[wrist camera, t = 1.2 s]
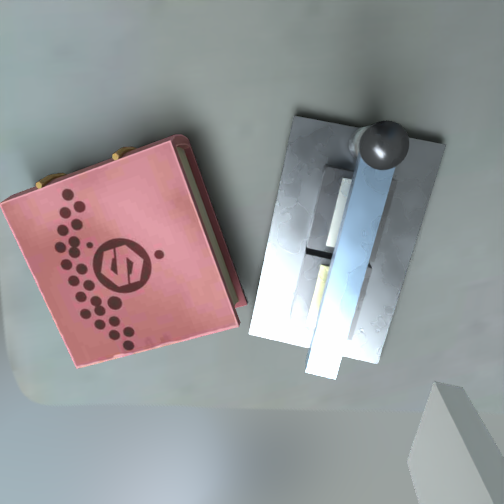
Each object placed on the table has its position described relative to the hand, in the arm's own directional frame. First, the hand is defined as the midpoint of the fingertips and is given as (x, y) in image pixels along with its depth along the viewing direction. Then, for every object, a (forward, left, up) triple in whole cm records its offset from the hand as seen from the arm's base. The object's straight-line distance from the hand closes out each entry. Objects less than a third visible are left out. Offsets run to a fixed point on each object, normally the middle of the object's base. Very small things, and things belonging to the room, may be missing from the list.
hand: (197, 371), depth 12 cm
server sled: (+1, +6, -22) cm, 23 cm away
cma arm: (0, +6, -16) cm, 17 cm away
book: (+4, -10, -23) cm, 26 cm away
